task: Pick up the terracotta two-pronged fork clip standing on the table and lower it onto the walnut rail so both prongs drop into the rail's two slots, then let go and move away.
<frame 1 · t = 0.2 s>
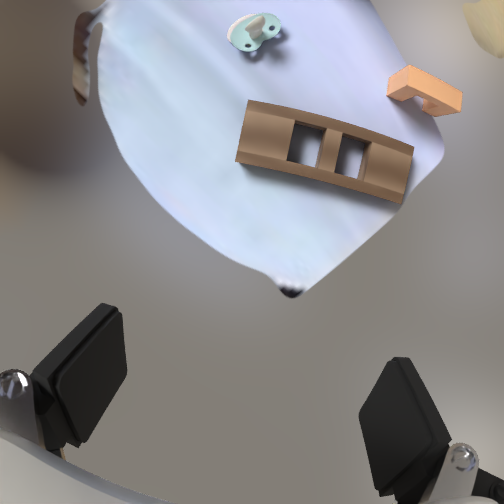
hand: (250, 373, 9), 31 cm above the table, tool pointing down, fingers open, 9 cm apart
clip: (413, 97, 31), on the table
rail: (326, 151, 35), on the table
pacifier: (252, 33, 31), on the table
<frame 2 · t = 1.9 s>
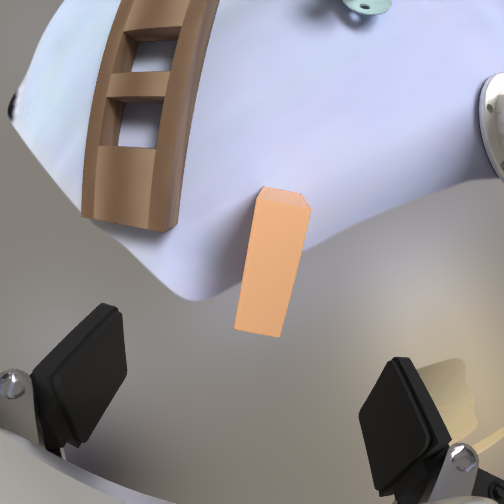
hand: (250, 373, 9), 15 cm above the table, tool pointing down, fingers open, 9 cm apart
clip: (272, 241, 23), on the table
rail: (152, 91, 20), on the table
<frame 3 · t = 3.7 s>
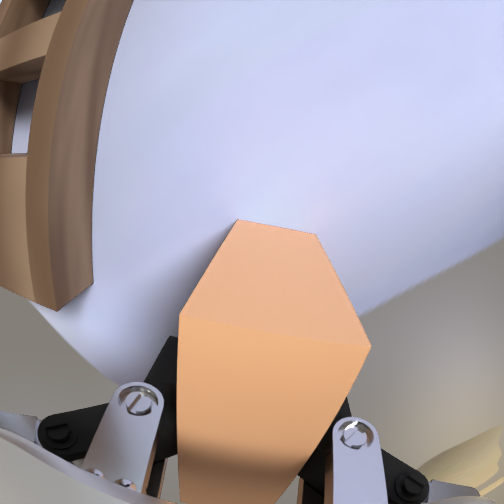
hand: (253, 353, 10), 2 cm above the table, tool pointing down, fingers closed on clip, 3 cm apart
clip: (257, 321, 12), on the table, touching gripper
rail: (55, 58, 9), on the table
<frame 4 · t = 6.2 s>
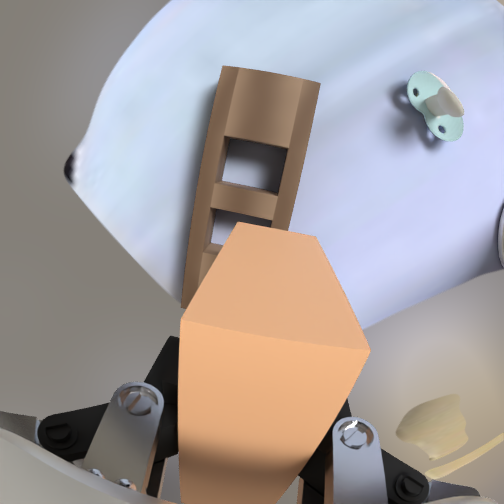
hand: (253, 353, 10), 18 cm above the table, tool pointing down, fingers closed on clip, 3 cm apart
clip: (257, 323, 12), point 15 cm above the table, touching gripper
rail: (247, 197, 26), on the table
pacifier: (432, 104, 21), on the table
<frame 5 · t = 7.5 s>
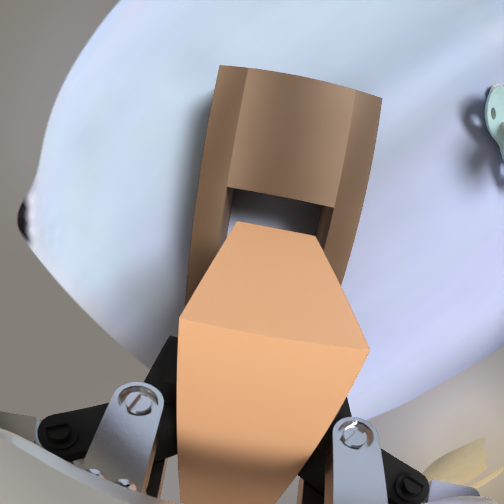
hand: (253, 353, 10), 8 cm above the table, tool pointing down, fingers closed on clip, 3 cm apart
clip: (256, 323, 12), point 6 cm above the table, touching gripper
rail: (264, 270, 18), on the table
pacifier: (503, 127, 13), on the table
when the fingers open (4 cm above the table, at t = 8.5 s): clip drops 2 cm, resting in rail.
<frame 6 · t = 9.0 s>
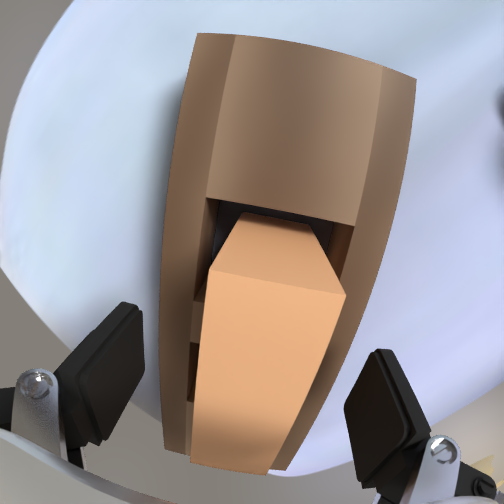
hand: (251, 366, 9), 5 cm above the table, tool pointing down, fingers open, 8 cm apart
clip: (258, 301, 14), resting in rail
rail: (259, 300, 14), on the table
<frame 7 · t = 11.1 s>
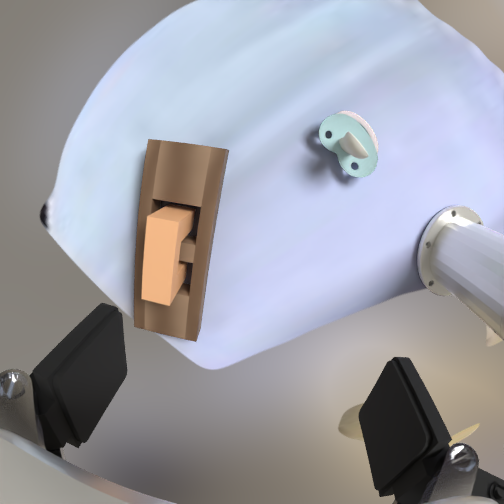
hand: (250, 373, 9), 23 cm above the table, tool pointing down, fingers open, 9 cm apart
clip: (177, 241, 32), resting in rail
rail: (177, 241, 32), on the table
pacifier: (349, 141, 28), on the table
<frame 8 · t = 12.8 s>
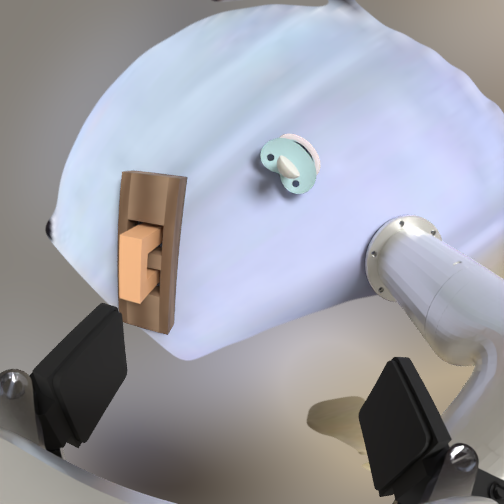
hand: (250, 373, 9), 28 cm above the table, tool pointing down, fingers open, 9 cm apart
clip: (151, 252, 39), resting in rail
rail: (151, 252, 39), on the table
pacifier: (293, 160, 34), on the table
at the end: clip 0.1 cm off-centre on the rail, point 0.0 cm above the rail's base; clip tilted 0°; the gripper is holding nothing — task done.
